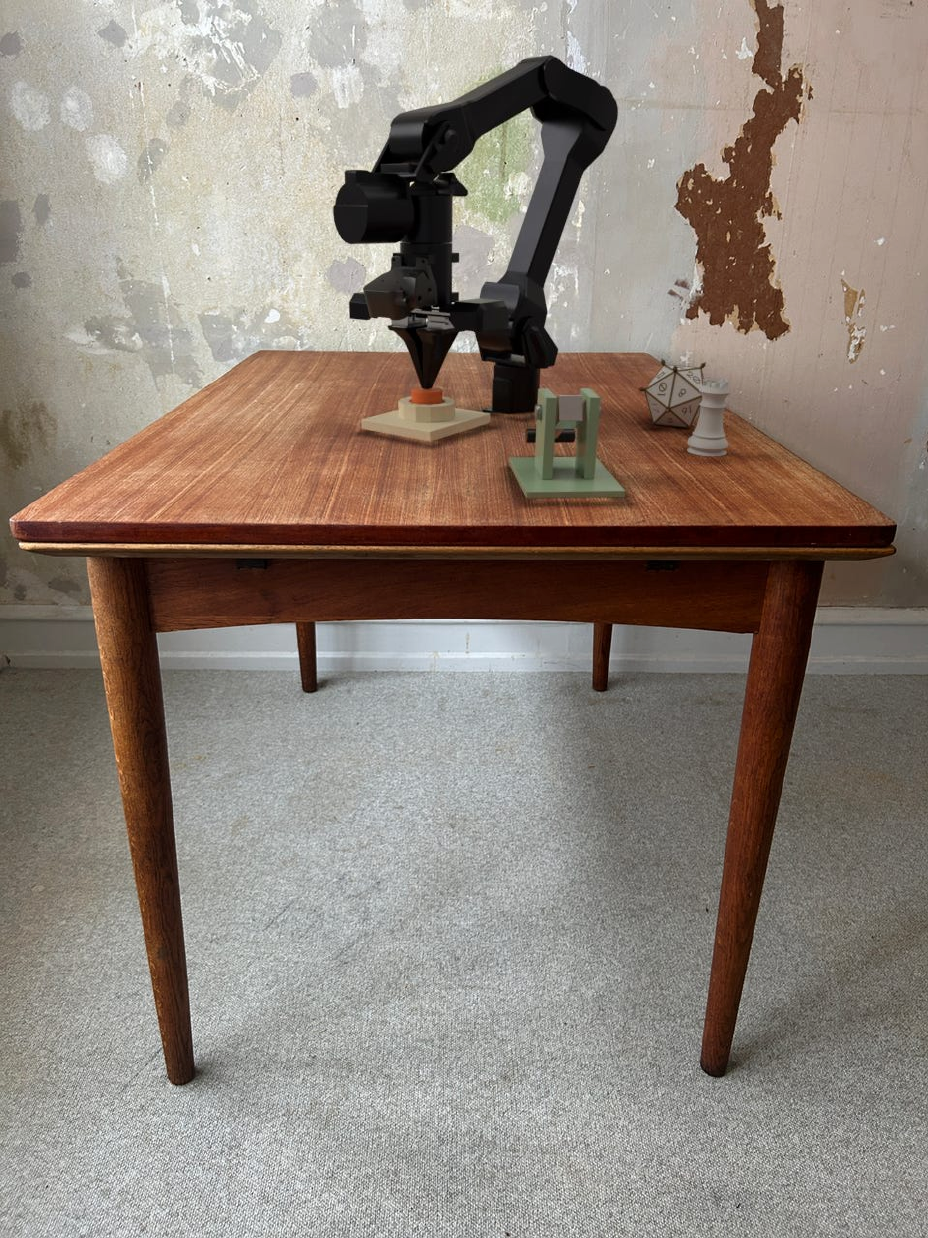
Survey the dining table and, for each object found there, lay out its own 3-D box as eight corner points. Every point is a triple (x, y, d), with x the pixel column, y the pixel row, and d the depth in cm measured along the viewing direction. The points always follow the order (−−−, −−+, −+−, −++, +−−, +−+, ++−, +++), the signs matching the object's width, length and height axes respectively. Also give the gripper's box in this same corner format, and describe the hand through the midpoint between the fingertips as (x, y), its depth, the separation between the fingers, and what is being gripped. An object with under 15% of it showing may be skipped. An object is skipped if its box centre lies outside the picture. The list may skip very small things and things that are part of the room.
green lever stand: (508, 468, 91) (511, 380, 87) (595, 467, 91) (602, 380, 88) (526, 504, 80) (530, 406, 76) (624, 503, 80) (633, 405, 77)
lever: (525, 449, 92) (524, 426, 92) (573, 448, 92) (572, 425, 92) (544, 421, 81) (543, 395, 81) (598, 420, 81) (597, 394, 81)
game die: (682, 457, 110) (739, 392, 107) (670, 447, 102) (731, 376, 99) (629, 413, 112) (683, 348, 110) (613, 400, 105) (671, 329, 102)
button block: (424, 416, 112) (424, 388, 111) (490, 427, 107) (490, 398, 106) (361, 433, 103) (360, 403, 102) (430, 446, 98) (430, 415, 97)
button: (424, 400, 106) (424, 385, 106) (448, 403, 104) (448, 388, 104) (405, 404, 104) (405, 389, 103) (430, 408, 102) (429, 393, 101)
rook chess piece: (704, 463, 93) (714, 386, 90) (676, 453, 97) (685, 379, 94) (736, 459, 95) (747, 383, 92) (707, 449, 99) (717, 376, 95)
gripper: (311, 241, 95) (319, 389, 102) (452, 248, 86) (451, 410, 92) (378, 239, 104) (382, 375, 110) (513, 244, 94) (509, 394, 101)
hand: (427, 388), depth 103 cm, fingers closed
